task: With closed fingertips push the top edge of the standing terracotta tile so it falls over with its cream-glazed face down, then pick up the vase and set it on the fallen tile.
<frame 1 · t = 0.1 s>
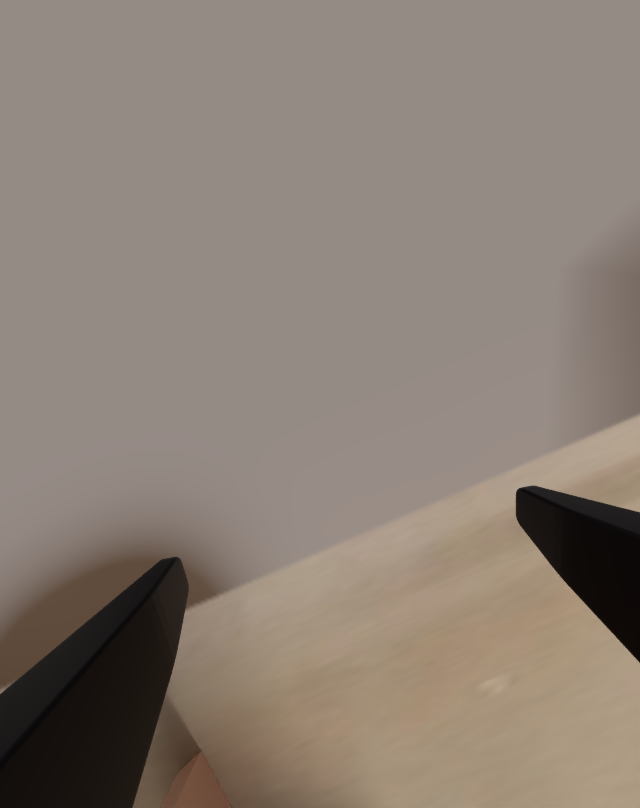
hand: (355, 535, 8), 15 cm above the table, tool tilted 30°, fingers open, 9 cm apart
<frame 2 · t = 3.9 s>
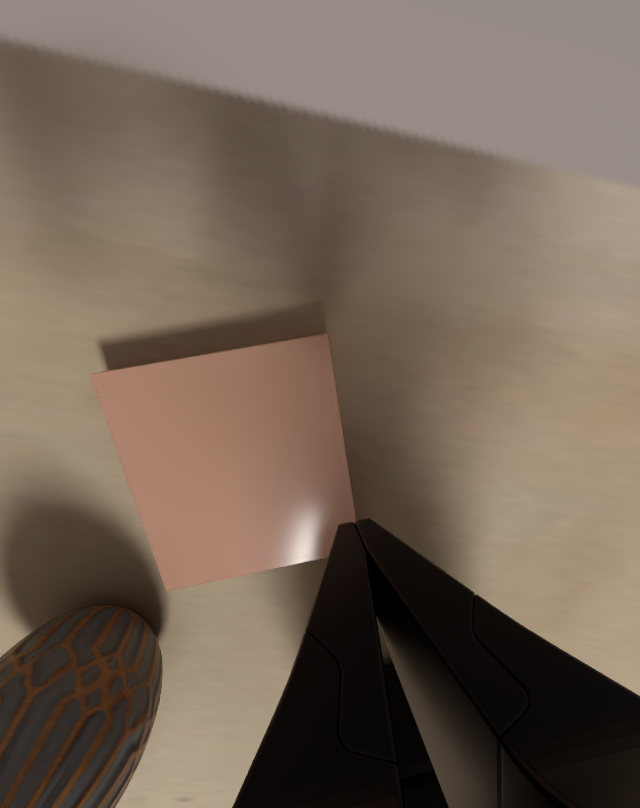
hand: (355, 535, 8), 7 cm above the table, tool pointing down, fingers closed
vase: (112, 633, 16), on the table
tile: (342, 445, 14), on the table, tilted 90°
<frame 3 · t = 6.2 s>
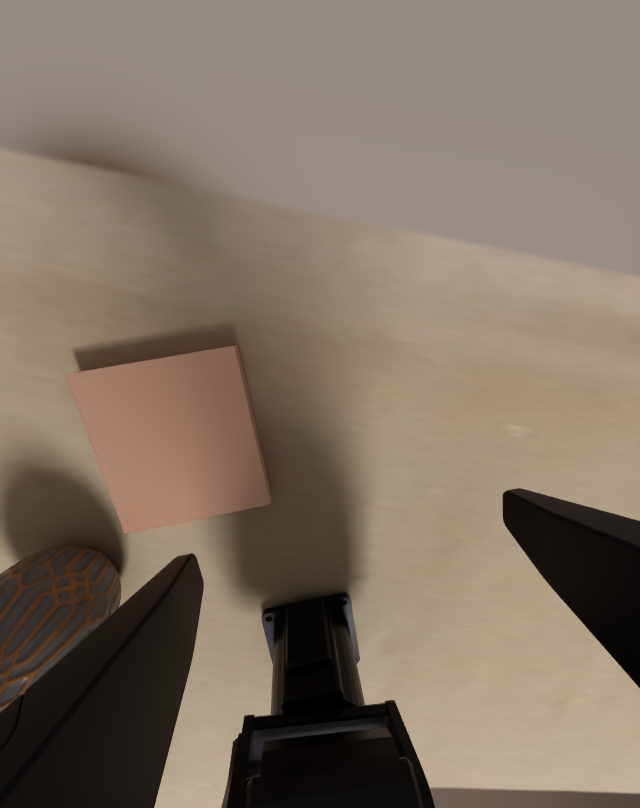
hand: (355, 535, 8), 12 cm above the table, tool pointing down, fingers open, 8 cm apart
vase: (85, 570, 21), on the table
tile: (254, 426, 19), on the table, tilted 90°
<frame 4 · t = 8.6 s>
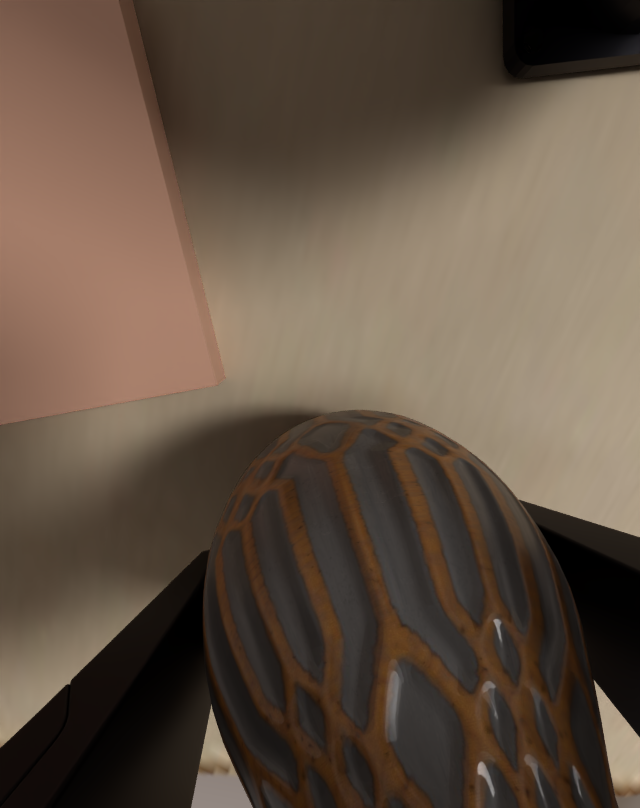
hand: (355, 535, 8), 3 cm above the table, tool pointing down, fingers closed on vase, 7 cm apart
vase: (339, 484, 11), on the table, touching gripper
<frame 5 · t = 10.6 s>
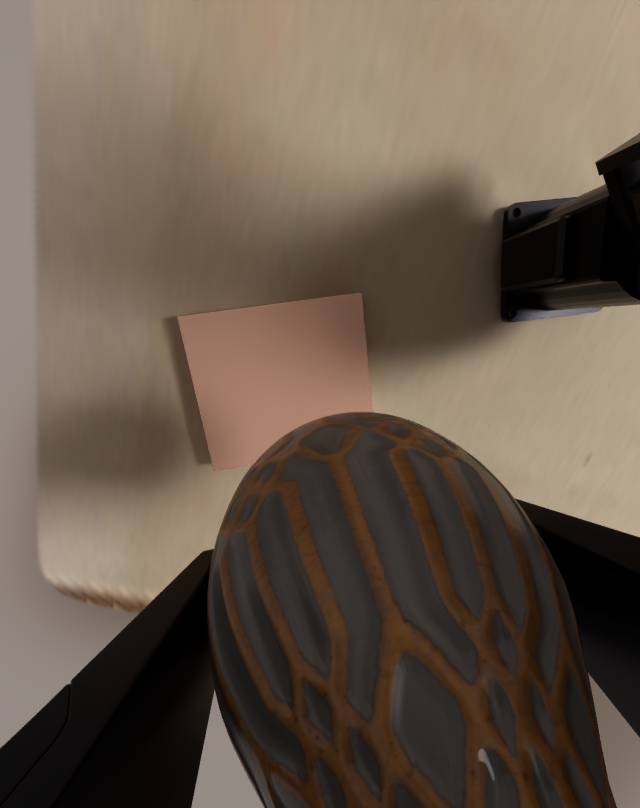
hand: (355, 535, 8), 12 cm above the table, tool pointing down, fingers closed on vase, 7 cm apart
vase: (338, 485, 11), point 9 cm above the table, touching gripper
tile: (271, 305, 18), on the table, tilted 90°
when the fingers open (5 cm above the table, at t = 12.5 s): vase drops 2 cm, resting on tile.
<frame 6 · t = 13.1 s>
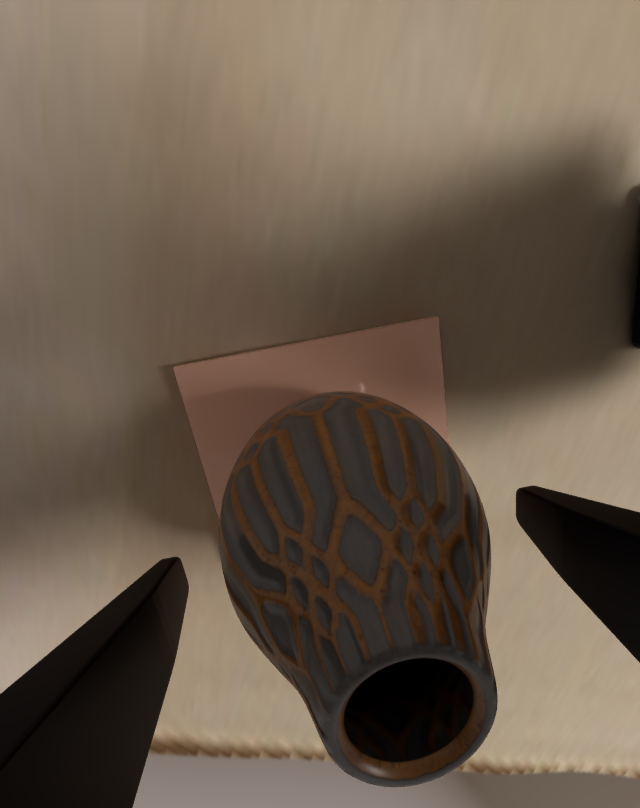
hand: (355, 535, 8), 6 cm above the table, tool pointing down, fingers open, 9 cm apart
vase: (329, 462, 13), point 1 cm above the table, touching tile
tile: (307, 340, 12), on the table, tilted 90°, touching vase
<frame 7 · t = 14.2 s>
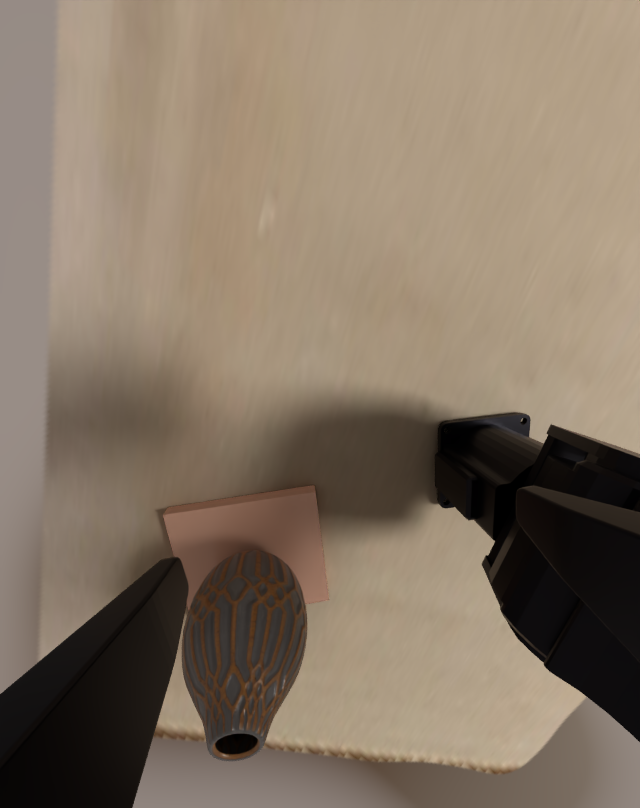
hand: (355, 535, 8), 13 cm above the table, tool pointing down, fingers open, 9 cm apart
vase: (253, 569, 22), point 1 cm above the table, touching tile
tile: (242, 497, 21), on the table, tilted 90°, touching vase
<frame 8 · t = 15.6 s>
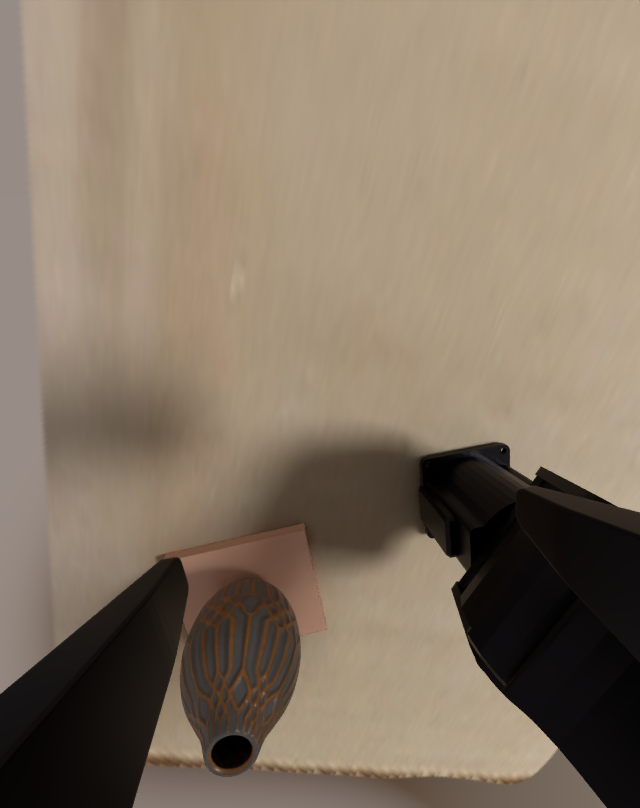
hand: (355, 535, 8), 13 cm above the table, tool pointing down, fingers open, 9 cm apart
vase: (249, 604, 23), point 1 cm above the table, touching tile
tile: (235, 539, 22), on the table, tilted 90°, touching vase
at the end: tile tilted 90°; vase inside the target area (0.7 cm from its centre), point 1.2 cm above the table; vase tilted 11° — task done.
